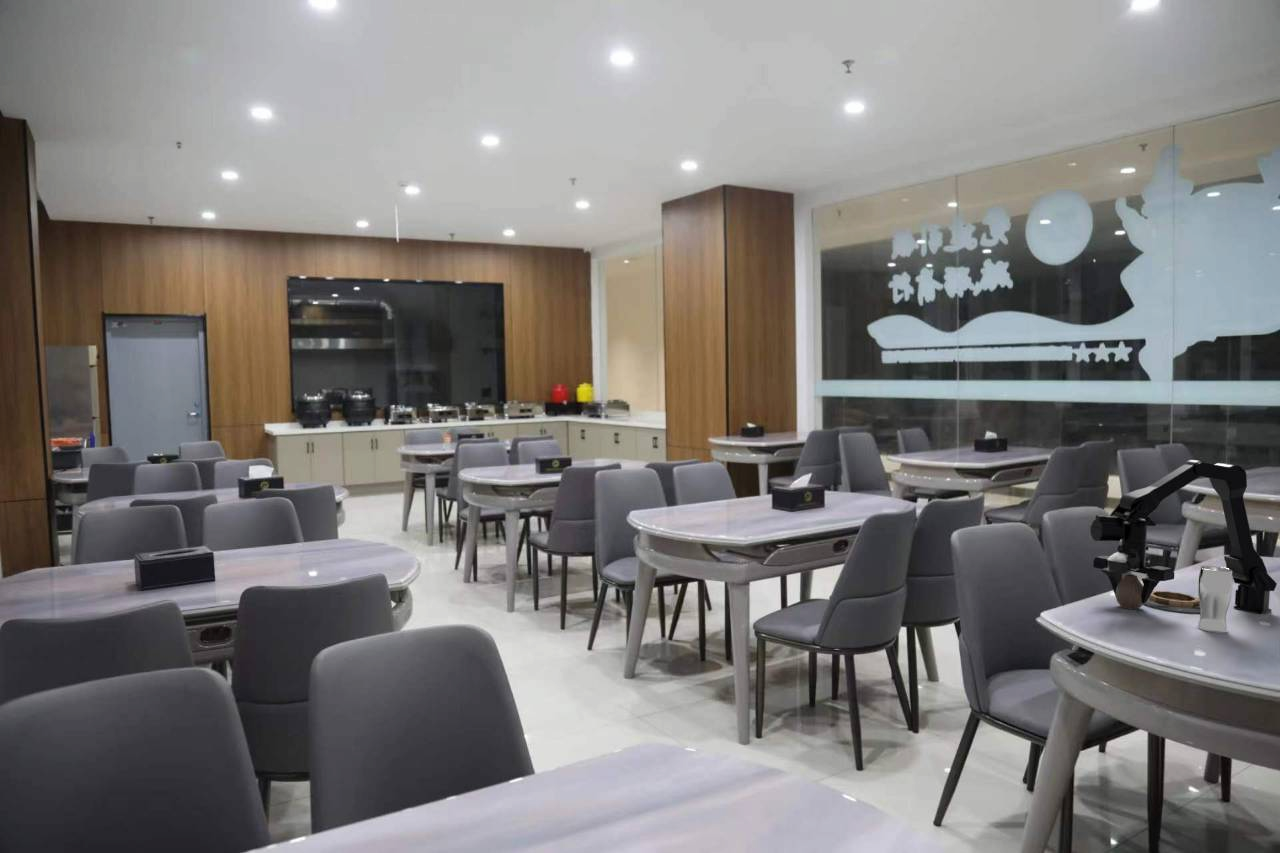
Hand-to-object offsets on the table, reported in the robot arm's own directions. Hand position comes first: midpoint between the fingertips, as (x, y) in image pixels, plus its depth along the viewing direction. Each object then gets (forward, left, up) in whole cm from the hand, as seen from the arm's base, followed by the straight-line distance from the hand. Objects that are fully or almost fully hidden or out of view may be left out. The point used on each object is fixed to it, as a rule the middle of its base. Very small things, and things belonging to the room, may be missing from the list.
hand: (1130, 600), depth 227 cm
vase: (0, 0, -2) cm, 2 cm away
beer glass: (-21, +2, -2) cm, 21 cm away
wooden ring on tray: (-4, -14, -2) cm, 15 cm away
